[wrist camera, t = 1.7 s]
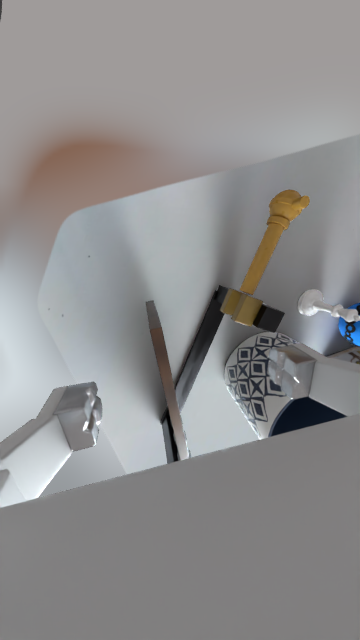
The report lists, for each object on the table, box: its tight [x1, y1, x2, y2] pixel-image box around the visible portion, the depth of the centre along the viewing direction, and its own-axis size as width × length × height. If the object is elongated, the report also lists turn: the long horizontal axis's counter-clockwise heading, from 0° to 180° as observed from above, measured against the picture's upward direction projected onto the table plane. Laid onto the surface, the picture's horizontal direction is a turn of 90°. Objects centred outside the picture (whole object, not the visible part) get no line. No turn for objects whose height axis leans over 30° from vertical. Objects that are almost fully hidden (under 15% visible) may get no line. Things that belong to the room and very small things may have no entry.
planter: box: [224, 332, 348, 439], centre depth 33 cm, size 16×16×14 cm
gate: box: [146, 301, 192, 461], centre depth 29 cm, size 23×2×12 cm, turn 9°
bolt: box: [240, 190, 310, 295], centre depth 21 cm, size 11×3×4 cm, turn 159°
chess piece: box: [298, 289, 360, 322], centre depth 32 cm, size 5×5×10 cm
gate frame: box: [160, 285, 285, 464], centre depth 30 cm, size 29×5×13 cm, turn 159°
